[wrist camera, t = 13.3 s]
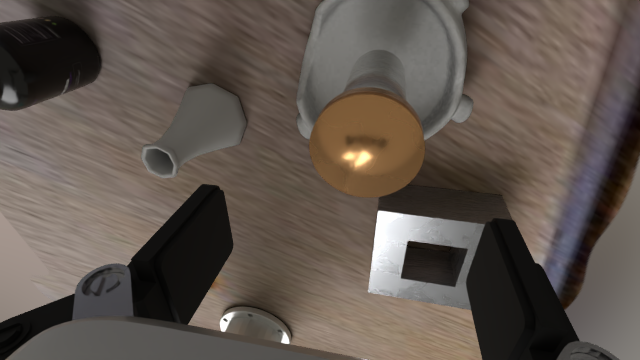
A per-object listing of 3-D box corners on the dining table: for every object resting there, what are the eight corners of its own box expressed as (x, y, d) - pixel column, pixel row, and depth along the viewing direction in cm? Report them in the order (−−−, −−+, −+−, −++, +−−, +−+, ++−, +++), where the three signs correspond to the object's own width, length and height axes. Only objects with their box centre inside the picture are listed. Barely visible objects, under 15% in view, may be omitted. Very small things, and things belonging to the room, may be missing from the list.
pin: (421, 41, 22) (437, 103, 13) (407, 115, 26) (412, 204, 17) (344, 36, 23) (309, 90, 14) (339, 108, 26) (308, 189, 17)
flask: (247, 88, 32) (194, 131, 24) (248, 151, 36) (204, 206, 28) (179, 76, 33) (107, 112, 25) (188, 139, 37) (128, 188, 29)
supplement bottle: (106, 92, 36) (-5, 140, 26) (48, 70, 36) (-83, 110, 26) (99, 28, 32) (-34, 56, 22) (35, 3, 32) (-127, 21, 22)
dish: (309, 133, 34) (296, 157, 30) (295, -24, 26) (276, -21, 22) (457, 139, 31) (465, 166, 27) (490, -36, 23) (508, -36, 19)
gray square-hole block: (471, 275, 39) (479, 311, 35) (371, 259, 41) (368, 292, 37) (501, 195, 33) (515, 228, 29) (380, 181, 35) (378, 210, 31)
